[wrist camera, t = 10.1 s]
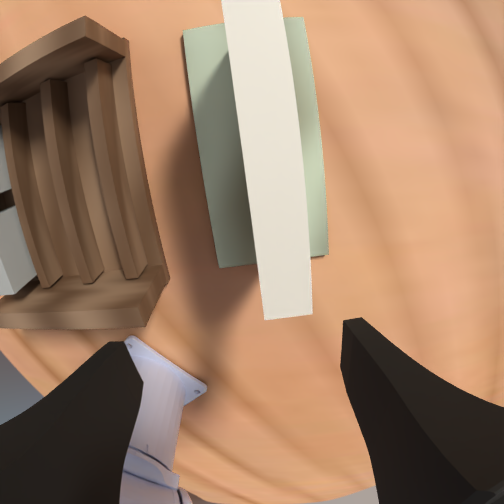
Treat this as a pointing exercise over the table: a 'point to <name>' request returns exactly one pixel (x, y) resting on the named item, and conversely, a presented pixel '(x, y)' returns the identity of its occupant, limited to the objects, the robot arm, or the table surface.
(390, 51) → the table surface
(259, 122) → the cream rectangular slab
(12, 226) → the offcut
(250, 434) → the table surface
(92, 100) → the rack
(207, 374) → the table surface
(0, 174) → the offcut
